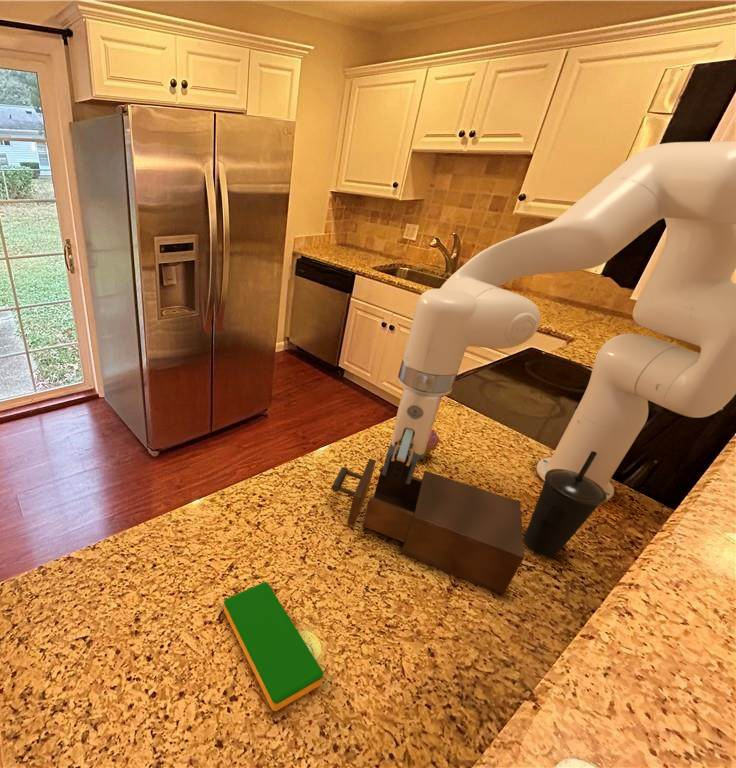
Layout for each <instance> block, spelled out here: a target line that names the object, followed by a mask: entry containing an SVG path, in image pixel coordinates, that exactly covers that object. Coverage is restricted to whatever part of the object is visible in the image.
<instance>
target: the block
mask: <svg viewBox="0 0 736 768" xmlns="http://www.w3.org/2000/svg"><path fill="white" fill-rule="evenodd" d="M399 442H400V441H399ZM400 443H401V442H400ZM410 446H413V445H410ZM394 449H395V446H394V447H393V445H392V444H391V443H390V444H389V447H388V450H387V452H386V456H385V459H384V463H383V465H382V466H383V470H382V475H384V476H385V475H386V472H387V468H388V465H389V461H390V458H391V457H392V456H393V452H394ZM398 452H399V448H398ZM398 452H397V453H398ZM409 453H410V452H409V451H408V453H407V456H408V457H409ZM418 456H419V454H416V453H415V451H414V453H413V456H412V459H411V462H410V463H411V464H412V465H411V468H410V471H409V474H408V478H407V481H406V483H407V484H410V482H411V479H412V476H414V472H415V469H416V466H417V464H418Z"/></svg>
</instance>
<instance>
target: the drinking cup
mask: <svg viewBox="0 0 736 768" xmlns="http://www.w3.org/2000/svg"><path fill="white" fill-rule="evenodd" d="M596 455H597V453H596V452H594V451H591V453H590V455H589V457H588V458H587V460H586V462H585V463H584V465H583V467H582V469H581V470H580V472H579V473H576V472H573V471H569V470H564V469H552V470H549V471H548V472H547V473H546V474H545V481H543V482H544V483H543V484H542V487H541V490H540V494H539V496H538V499H537V502H536V504H535V507H534V510H533V512H532V514H531V516H530V517H531V518H530V520H529V522H528V524H527V525H528V526H527V528H526V530H525V533H524V535H523V542H524V543H525V545H526V546H527V548H529V549H530V550H531V551H533V552H534V553H535V554H537V555H540V556H543V557H545V558H548V557H549V558H554V557H556V556H557V555H558V554H559V553H560V552H561V550H562V549H563V548H564V547H565V546H566V545H567V543H568V542H569V541H570V540H571V539H572V538H573V536H574V535H575V534H576V533H577V531H578V530H579V529H581V527H582V526H583V525H584V524H585V522H586V521H587V520H588V519H589V517H590V516H591V515H593V513H594V512H595V510H597V509H598V507H599V506H601V505H602V504H604V503H605V501H606V499H607V496H606V493H605V491H604V490H603V489H602V487H600V486H599V485H598V484H597V483H596V482H594V481H593V480H591V479H589V478H587V477H585V476H584V475H585V474H586V472H587V470H588V468H589V467H590V465H591V463H592V462H593V460H594V458H595V456H596ZM606 502H607V501H606Z"/></svg>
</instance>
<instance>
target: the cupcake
mask: <svg viewBox="0 0 736 768" xmlns="http://www.w3.org/2000/svg"><path fill="white" fill-rule="evenodd" d="M440 441H441V439H440V438H439V436H438V435H437V432H436V431H435V430H434V429H433V428H432V431H431V434H430V437H429V440H428V443H427V446H426V449H425V453H424V454H423V455H419V456H418V460H422V459H424V458H425V457H426V456H427V454H428V453H430V452H431V451H435V450H436V448H437V447H438V445H439V444H440ZM412 445H413V444H412ZM418 460H417V461H418Z"/></svg>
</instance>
